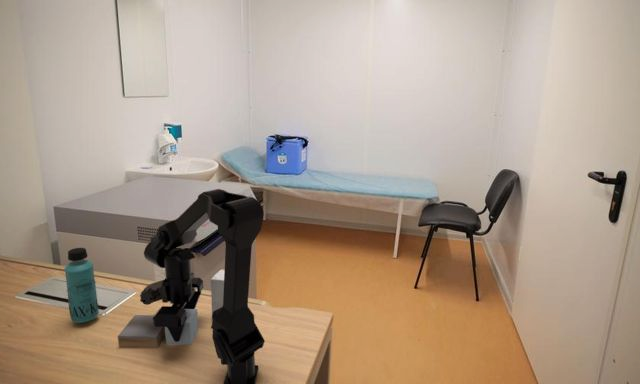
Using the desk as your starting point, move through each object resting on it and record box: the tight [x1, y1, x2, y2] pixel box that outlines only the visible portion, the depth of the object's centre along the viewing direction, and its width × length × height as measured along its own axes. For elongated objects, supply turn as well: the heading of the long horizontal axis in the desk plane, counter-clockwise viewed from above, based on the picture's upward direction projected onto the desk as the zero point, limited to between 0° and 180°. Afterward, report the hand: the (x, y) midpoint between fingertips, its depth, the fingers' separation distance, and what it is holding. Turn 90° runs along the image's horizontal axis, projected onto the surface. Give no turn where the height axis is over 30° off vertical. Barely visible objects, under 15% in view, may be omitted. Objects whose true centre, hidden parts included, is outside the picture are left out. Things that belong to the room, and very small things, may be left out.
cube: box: [165, 308, 200, 346], centre depth 97 cm, size 6×6×6 cm
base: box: [117, 314, 166, 349], centre depth 97 cm, size 9×9×3 cm
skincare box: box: [210, 269, 225, 315], centre depth 106 cm, size 6×4×12 cm
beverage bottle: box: [64, 247, 100, 324], centre depth 101 cm, size 6×7×20 cm
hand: (182, 331), depth 97 cm, fingers open, 8 cm apart
